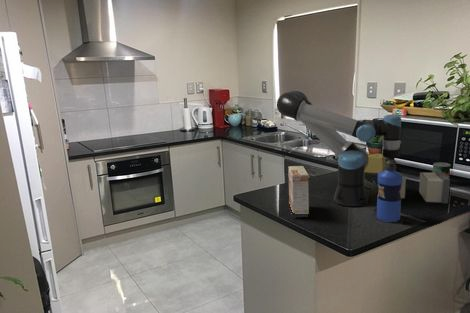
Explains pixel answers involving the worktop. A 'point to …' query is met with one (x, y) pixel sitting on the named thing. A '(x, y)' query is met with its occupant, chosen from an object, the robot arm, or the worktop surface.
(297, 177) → the coffeecake box
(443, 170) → the canned tomato
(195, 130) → the worktop surface
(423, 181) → the beige stepped block
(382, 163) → the cheese
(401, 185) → the beige box
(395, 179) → the water bottle
